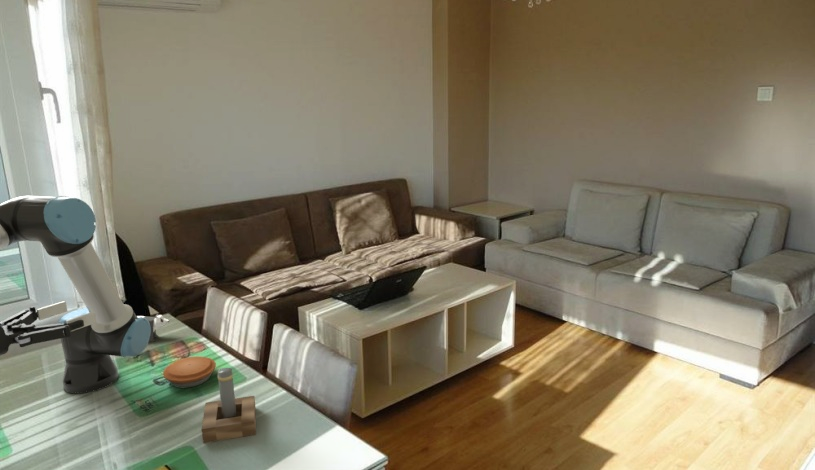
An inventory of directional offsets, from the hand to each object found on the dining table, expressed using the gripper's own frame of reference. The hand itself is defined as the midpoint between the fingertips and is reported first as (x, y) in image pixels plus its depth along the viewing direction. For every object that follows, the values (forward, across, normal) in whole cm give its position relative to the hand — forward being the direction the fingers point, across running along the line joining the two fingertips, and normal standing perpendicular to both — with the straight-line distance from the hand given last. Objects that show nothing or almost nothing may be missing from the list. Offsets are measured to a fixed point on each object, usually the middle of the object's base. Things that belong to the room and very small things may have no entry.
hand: (80, 311), depth 142 cm
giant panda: (+42, -44, -35) cm, 70 cm away
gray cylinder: (+21, +25, -35) cm, 48 cm away
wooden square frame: (+21, +25, -35) cm, 48 cm away
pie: (+32, -6, -35) cm, 48 cm away
